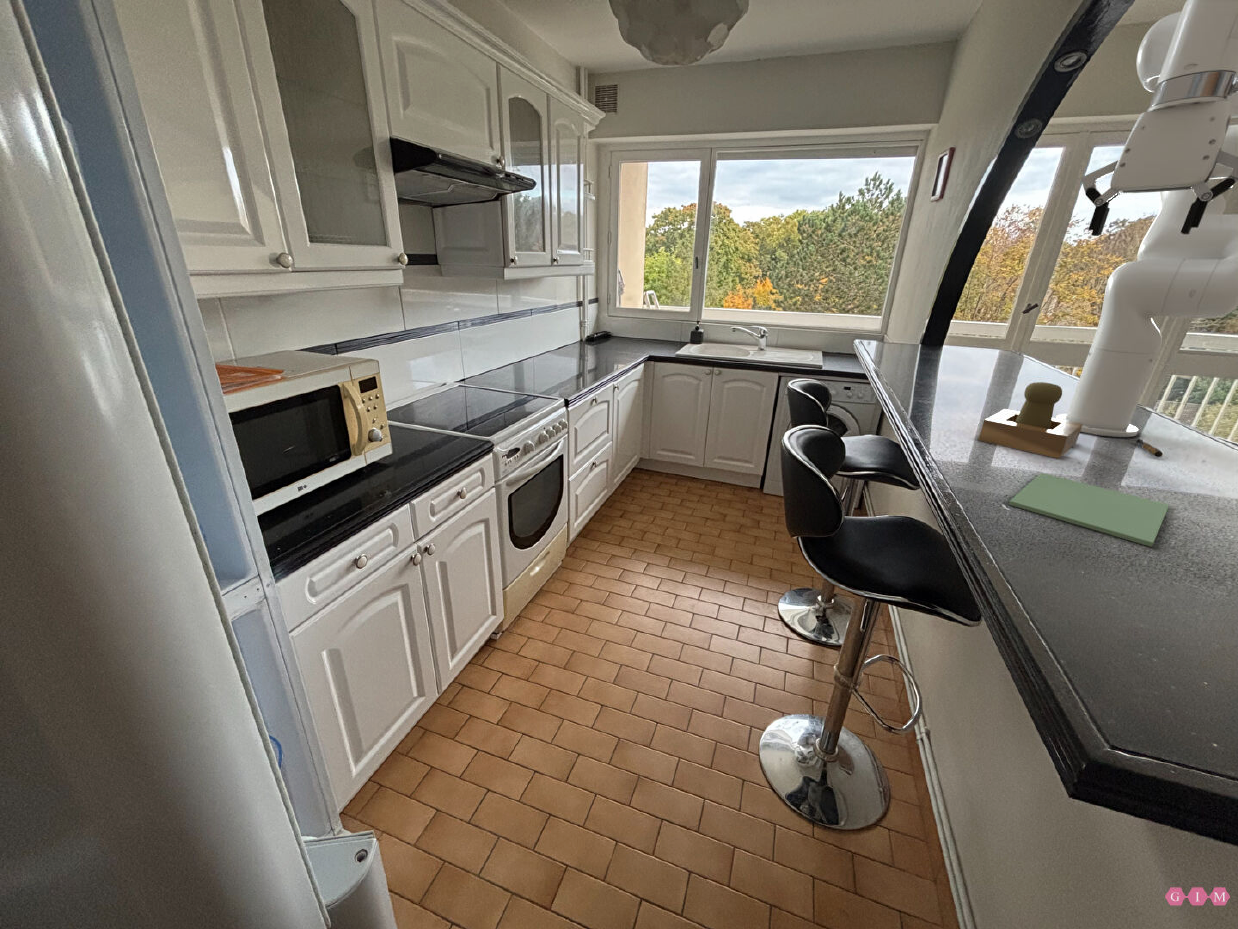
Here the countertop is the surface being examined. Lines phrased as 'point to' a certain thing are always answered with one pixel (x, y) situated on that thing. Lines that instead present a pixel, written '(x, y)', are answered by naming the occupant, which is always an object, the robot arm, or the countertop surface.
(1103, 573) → the countertop surface
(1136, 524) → the mat
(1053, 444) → the holder
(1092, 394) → the robot arm
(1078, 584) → the countertop surface
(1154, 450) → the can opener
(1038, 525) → the countertop surface
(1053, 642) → the countertop surface
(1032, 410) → the cork
